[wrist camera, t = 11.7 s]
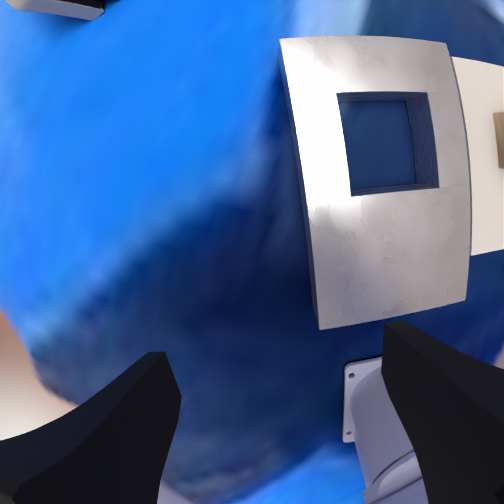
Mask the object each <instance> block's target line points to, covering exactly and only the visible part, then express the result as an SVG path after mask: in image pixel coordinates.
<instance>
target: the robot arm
mask: <svg viewBox="0 0 504 504" xmlns="http://www.w3.org/2000/svg"><path fill="white" fill-rule="evenodd" d="M351 373H353V374H352V375H349V374H351ZM181 397H182V396H181V393H180V391H179V388H178V385H177V383H176V380H175V378H174V375H173V372H172V370H171V367H170V364H169V361H168V359H167V356H166V353H165V352H149V353H147V354H146V355H144V356H143V357H141V358H140V359H139V360H138V361H136V362H135V363H134V364H133V365H132V366H130V367H129V368H128V369H127V370H126V371H124V372H123V373H122V374H121V375H119V376H118V377H117V378H116V379H115V380H113V381H112V382H111V383H110V384H108V385H107V386H106V387H105V388H103V389H102V390H101V391H99V392H98V393H96V394H95V395H94V396H92V397H91V398H90V399H88V400H87V401H86V402H84V403H83V404H81V405H80V406H78V407H77V408H75V409H73V410H72V411H70V412H68V413H67V414H65V415H64V416H62V417H60V418H58V419H56V420H54V421H52V422H50V423H47V424H45V425H43V426H41V427H39V428H37V429H35V430H32V431H30V432H27V433H24V434H21V435H19V436H15V437H12V438H9V439H5V440H1V441H0V504H157V499H158V492H159V486H160V480H161V476H162V472H163V469H164V465H165V462H166V459H167V455H168V452H169V449H170V446H171V442H172V439H173V436H174V433H175V429H176V426H177V422H178V418H179V412H180V405H181ZM348 431H349V432H348ZM343 441H344V442H353V441H354V442H355V446H356V450H357V454H358V458H359V462H360V466H361V470H362V474H363V478H364V482H365V486H366V489H364V490H363V491H362V492H363V497H364V501H365V504H504V369H501V368H498V367H495V366H493V365H490V364H487V363H484V362H482V361H479V360H477V359H474V358H472V357H470V356H468V355H466V354H464V353H461V352H459V351H457V350H455V349H453V348H451V347H449V346H448V345H446V344H444V343H442V342H440V341H438V340H437V339H435V338H433V337H431V336H429V335H428V334H426V333H424V332H422V331H421V330H419V329H417V328H415V327H414V326H412V325H410V324H408V323H406V322H404V321H402V320H399V321H395V322H390V323H385V324H384V337H383V352H382V357H378V358H373V359H368V360H363V361H358V362H353V363H349V364H347V365H346V366H345V369H344V416H343Z"/></svg>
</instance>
